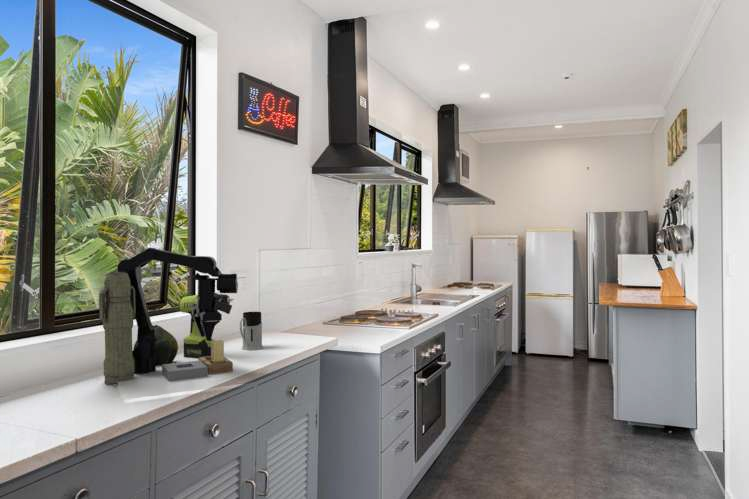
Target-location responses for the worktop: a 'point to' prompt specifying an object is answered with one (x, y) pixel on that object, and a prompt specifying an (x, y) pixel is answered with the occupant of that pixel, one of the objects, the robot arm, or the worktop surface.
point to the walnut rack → (217, 365)
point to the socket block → (184, 370)
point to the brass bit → (217, 351)
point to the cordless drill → (194, 342)
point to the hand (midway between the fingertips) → (205, 338)
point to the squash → (164, 347)
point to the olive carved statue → (117, 326)
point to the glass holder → (251, 331)
